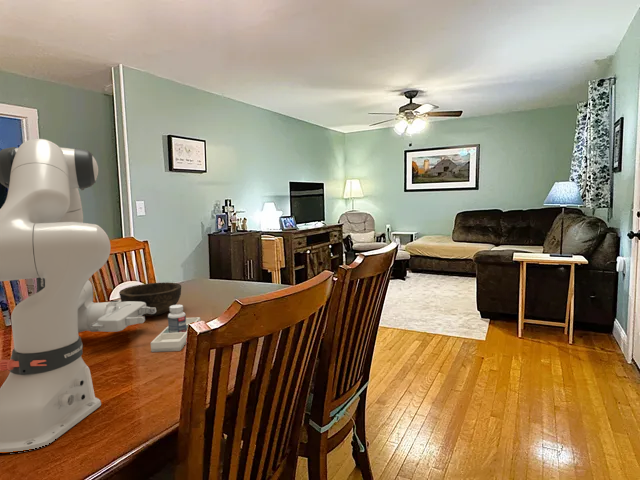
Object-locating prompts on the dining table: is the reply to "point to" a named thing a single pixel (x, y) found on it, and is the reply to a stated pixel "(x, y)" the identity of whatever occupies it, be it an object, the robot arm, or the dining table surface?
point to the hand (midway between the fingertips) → (150, 315)
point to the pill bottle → (177, 319)
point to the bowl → (153, 295)
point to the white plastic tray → (171, 339)
